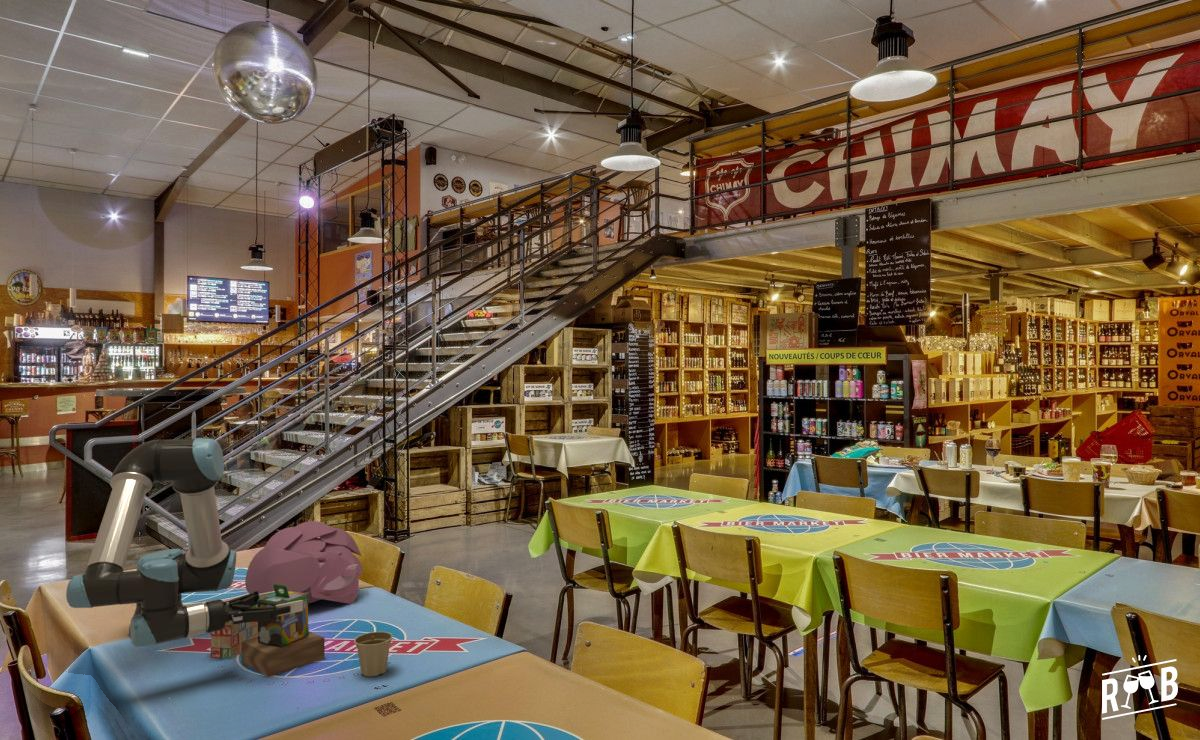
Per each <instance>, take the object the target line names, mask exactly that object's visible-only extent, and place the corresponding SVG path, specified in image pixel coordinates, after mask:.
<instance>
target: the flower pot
mask: <svg viewBox="0 0 1200 740" xmlns="http://www.w3.org/2000/svg"><path fill="white" fill-rule="evenodd" d="M393 638H394V636H393V634H392V633H391V632H388V631H373V632H367V633H363V634H360V635H357V636H356V637H355V638H354V640H353V642H354V644H355V647H356V649H357V654H358V655H357V656H358V661H359V666H360V674H361V675H363V676H364V677H376V676H379V675H381V674H385V673H386V672H387V669H388V661H389V655H390V654H389V652H390V645H391V643H392V639H393Z"/></svg>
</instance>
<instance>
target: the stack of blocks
mask: <svg viewBox="0 0 1200 740" xmlns="http://www.w3.org/2000/svg"><path fill="white" fill-rule="evenodd" d="M252 607H257V604H256V605H254V606H252ZM255 637H258V621H257V622H246V623H240V624H233V622H232V621H227V622H226V623H225V627H224V628H223V629H222V630H219V631H214V632H210V659H224V660H225V659H228V660H230V659H231V660H233V659H234V658H236V657H237V656H239V655H242V641H245V640H248V639H252V638H255Z"/></svg>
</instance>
